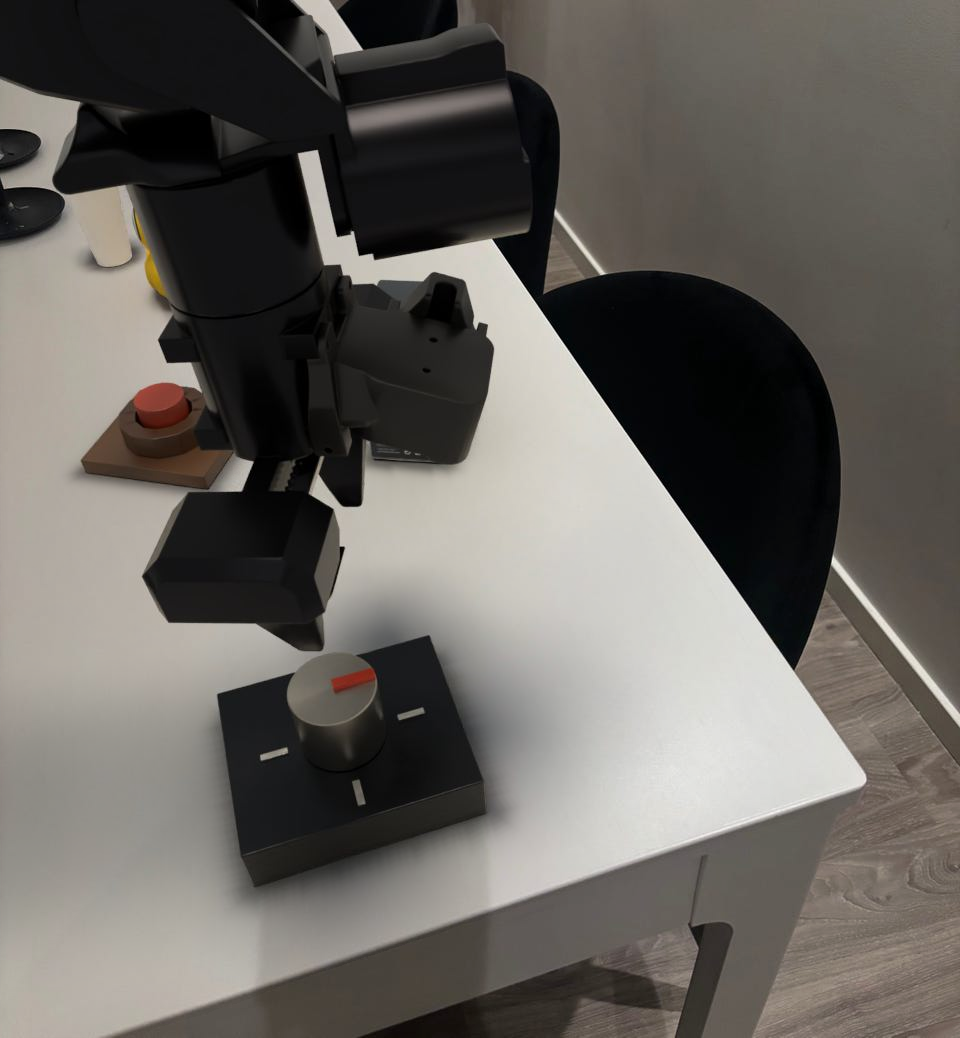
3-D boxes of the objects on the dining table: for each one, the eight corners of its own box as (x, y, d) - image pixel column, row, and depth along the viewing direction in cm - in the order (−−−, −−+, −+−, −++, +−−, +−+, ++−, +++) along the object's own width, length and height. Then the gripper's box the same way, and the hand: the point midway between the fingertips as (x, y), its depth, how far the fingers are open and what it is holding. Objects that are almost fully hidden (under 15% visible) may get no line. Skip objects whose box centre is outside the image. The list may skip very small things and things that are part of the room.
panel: (253, 887, 47) (239, 855, 45) (228, 725, 54) (215, 691, 52) (487, 813, 49) (484, 779, 47) (433, 667, 56) (429, 632, 54)
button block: (85, 472, 71) (71, 440, 69) (144, 401, 78) (133, 370, 76) (207, 489, 69) (197, 457, 67) (258, 414, 76) (250, 383, 74)
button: (131, 427, 71) (124, 408, 70) (154, 399, 73) (148, 379, 72) (175, 433, 70) (169, 413, 69) (197, 404, 73) (191, 384, 71)
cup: (127, 273, 93) (86, 151, 85) (77, 270, 94) (32, 149, 86) (151, 247, 97) (115, 127, 89) (103, 244, 98) (62, 125, 90)
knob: (309, 782, 48) (293, 732, 45) (294, 713, 51) (278, 662, 48) (395, 756, 49) (385, 706, 46) (375, 690, 52) (364, 638, 49)
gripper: (430, 435, 27) (485, 746, 38) (489, 153, 40) (517, 442, 51) (60, 442, 29) (213, 739, 39) (235, 168, 42) (314, 446, 53)
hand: (334, 571), depth 45 cm, fingers open, 9 cm apart
